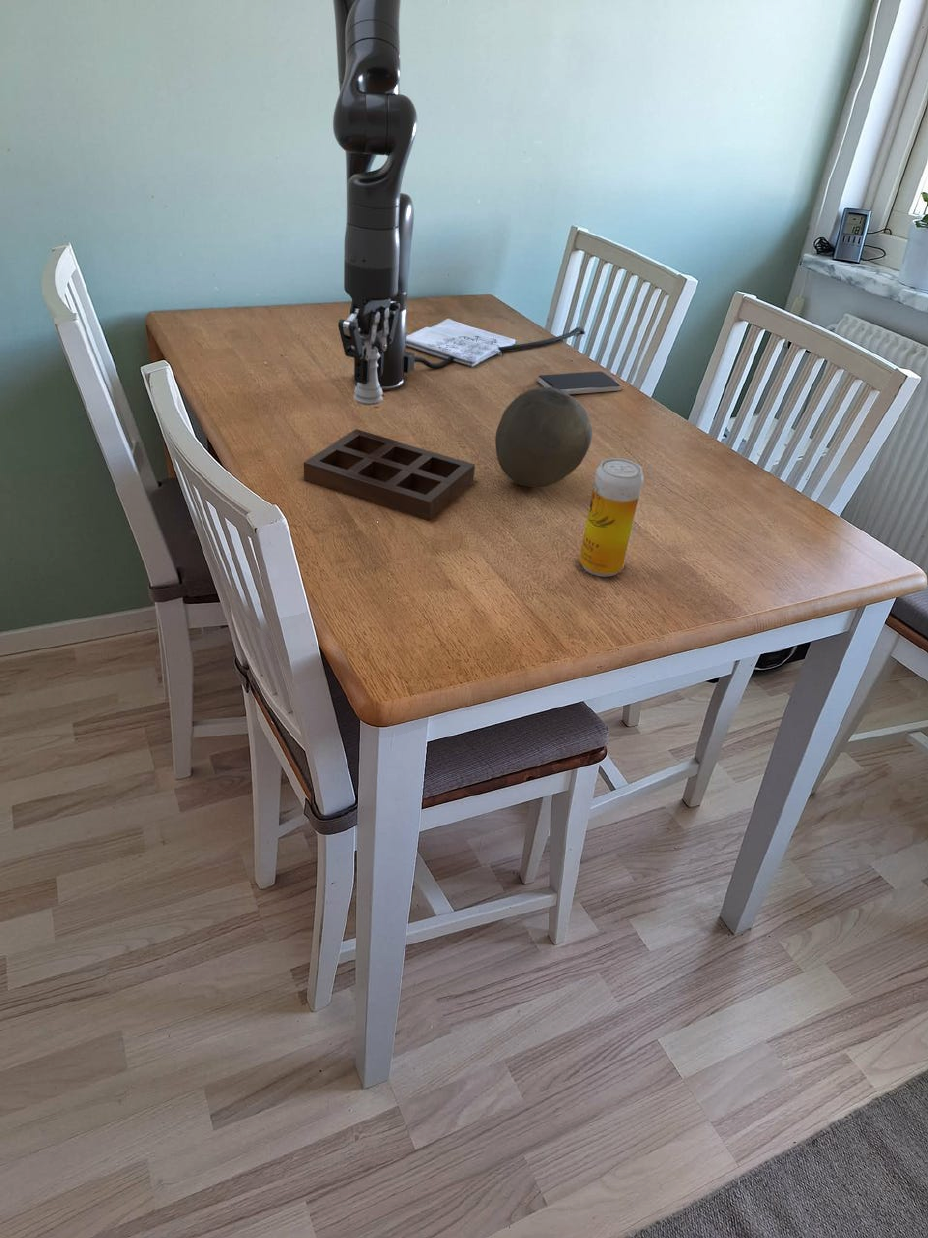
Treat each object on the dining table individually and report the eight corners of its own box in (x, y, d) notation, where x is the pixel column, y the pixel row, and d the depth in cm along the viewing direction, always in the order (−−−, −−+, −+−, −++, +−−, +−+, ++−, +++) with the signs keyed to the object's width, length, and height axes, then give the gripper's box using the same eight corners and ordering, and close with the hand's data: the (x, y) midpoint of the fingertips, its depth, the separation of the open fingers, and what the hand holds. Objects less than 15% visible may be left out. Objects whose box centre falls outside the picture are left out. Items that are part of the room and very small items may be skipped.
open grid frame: (355, 445, 146) (355, 428, 144) (473, 481, 139) (475, 464, 137) (303, 480, 135) (303, 461, 133) (428, 520, 128) (430, 502, 126)
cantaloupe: (519, 510, 133) (533, 415, 124) (475, 469, 143) (485, 378, 134) (597, 496, 139) (615, 405, 130) (550, 458, 149) (564, 370, 140)
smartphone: (622, 385, 176) (556, 390, 170) (621, 391, 177) (555, 396, 171) (601, 370, 182) (537, 375, 176) (600, 376, 183) (536, 380, 177)
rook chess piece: (378, 408, 133) (379, 355, 128) (349, 403, 134) (350, 350, 129) (386, 397, 137) (388, 345, 132) (358, 392, 137) (359, 341, 133)
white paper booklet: (395, 345, 187) (396, 334, 185) (448, 323, 201) (448, 314, 200) (473, 369, 179) (474, 358, 178) (521, 345, 194) (522, 335, 192)
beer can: (574, 554, 124) (593, 455, 115) (617, 555, 125) (639, 457, 116) (582, 578, 119) (603, 476, 110) (627, 579, 120) (650, 479, 111)
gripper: (368, 274, 117) (365, 399, 127) (419, 253, 127) (413, 370, 137) (320, 263, 119) (321, 386, 129) (374, 243, 130) (371, 359, 140)
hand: (368, 378), depth 133 cm, fingers closed on rook chess piece, 3 cm apart
